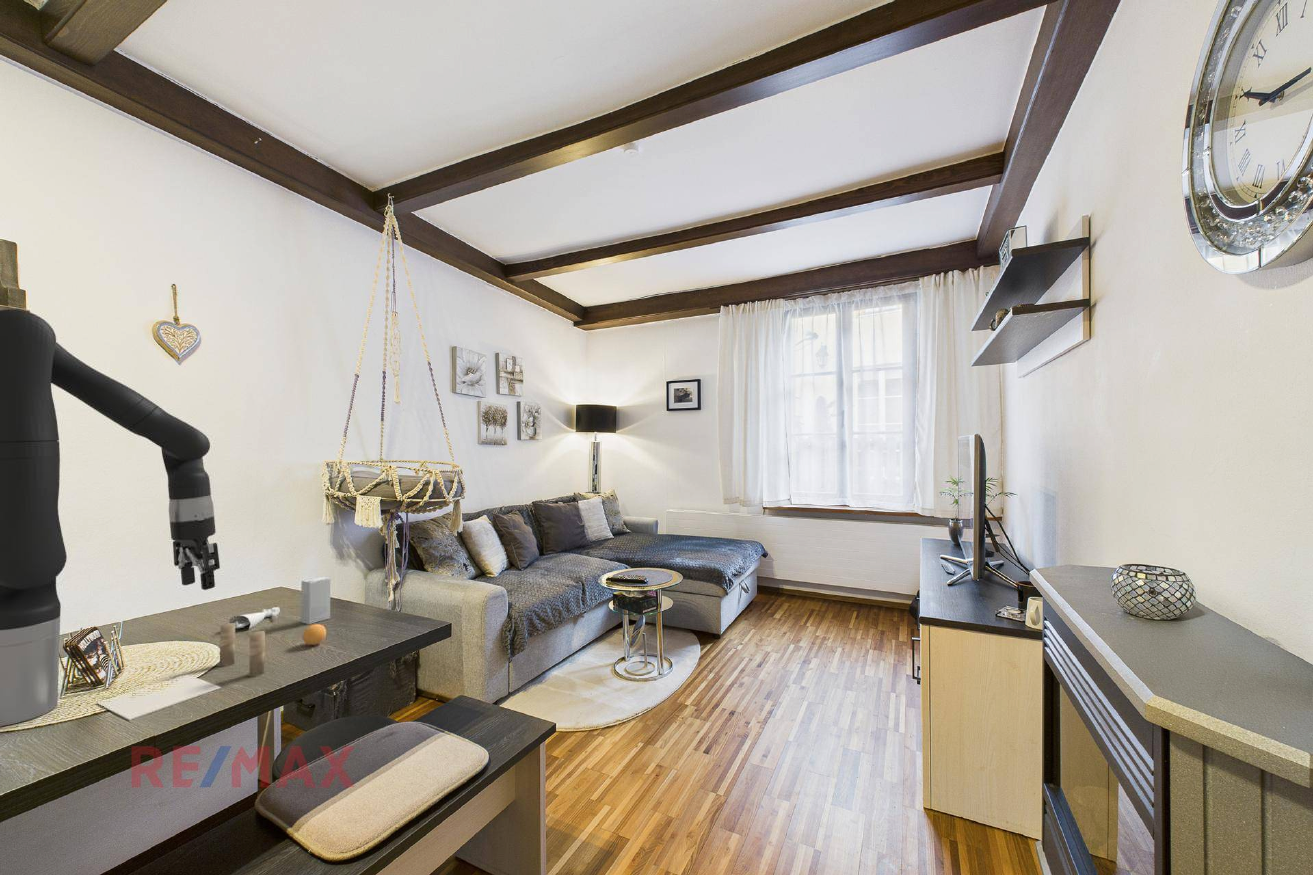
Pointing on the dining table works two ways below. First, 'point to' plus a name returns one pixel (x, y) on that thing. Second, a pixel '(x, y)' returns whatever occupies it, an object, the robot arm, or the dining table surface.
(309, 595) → the skincare box
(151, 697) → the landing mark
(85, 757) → the dining table surface
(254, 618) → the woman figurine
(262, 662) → the right post
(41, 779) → the dining table surface
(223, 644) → the left post
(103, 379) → the robot arm
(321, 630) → the brown egg
